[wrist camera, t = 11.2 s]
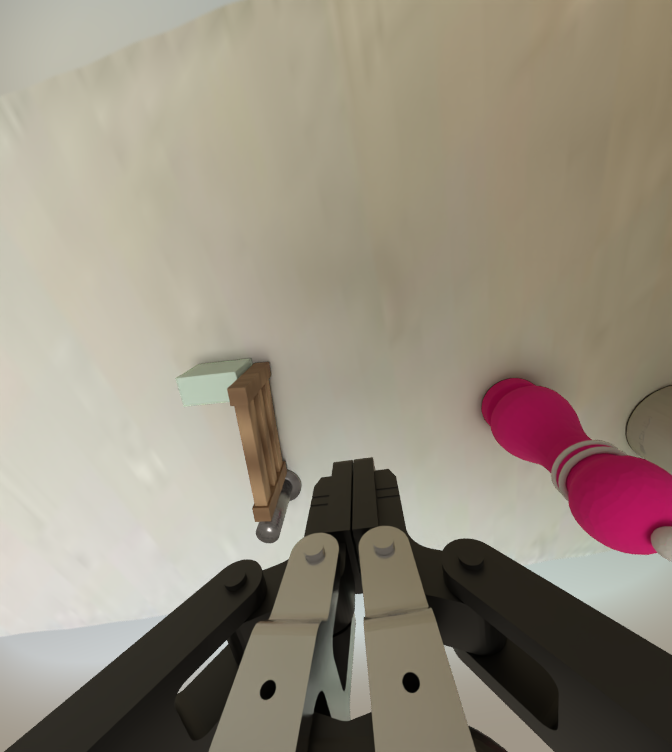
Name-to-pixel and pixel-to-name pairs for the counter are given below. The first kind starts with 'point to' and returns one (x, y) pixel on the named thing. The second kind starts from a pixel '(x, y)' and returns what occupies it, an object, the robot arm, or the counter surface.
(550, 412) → the pepper mill
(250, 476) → the gate
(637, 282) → the counter surface
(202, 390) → the block
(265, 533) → the hinge post
